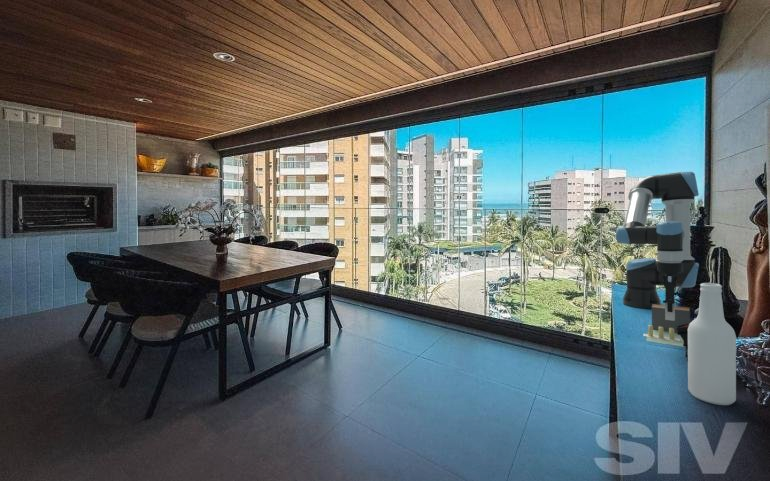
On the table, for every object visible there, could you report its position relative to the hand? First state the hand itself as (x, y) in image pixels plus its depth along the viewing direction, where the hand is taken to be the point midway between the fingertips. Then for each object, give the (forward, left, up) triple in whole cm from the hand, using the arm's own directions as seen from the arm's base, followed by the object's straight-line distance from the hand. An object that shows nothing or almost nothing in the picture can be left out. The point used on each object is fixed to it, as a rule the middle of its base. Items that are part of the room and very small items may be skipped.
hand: (670, 315), depth 125 cm
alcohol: (+49, +9, -7) cm, 50 cm away
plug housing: (0, 0, -6) cm, 6 cm away
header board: (+7, 0, -7) cm, 10 cm away
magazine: (+26, +9, -7) cm, 28 cm away
